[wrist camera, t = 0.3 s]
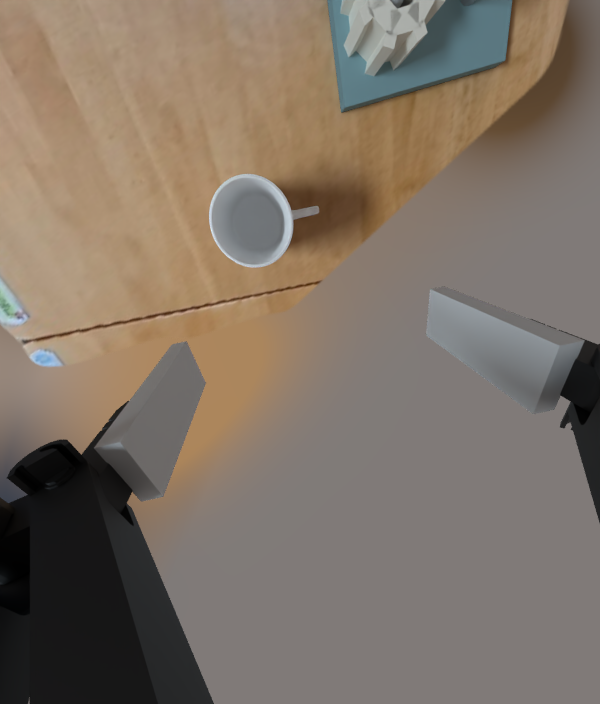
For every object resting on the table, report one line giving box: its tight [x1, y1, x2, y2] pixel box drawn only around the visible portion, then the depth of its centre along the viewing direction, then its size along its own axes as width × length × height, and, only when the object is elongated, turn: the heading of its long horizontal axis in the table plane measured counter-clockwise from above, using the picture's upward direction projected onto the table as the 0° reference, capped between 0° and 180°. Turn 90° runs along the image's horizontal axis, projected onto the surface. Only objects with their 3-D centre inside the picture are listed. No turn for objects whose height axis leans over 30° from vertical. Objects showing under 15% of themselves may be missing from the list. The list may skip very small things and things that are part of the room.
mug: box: [209, 174, 319, 267], centre depth 29 cm, size 12×8×12 cm
